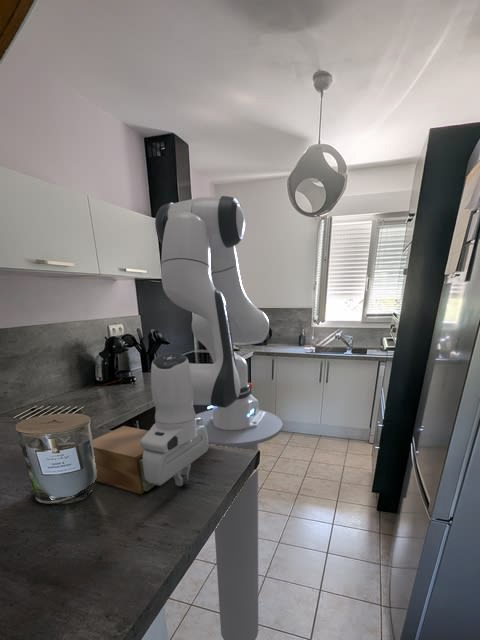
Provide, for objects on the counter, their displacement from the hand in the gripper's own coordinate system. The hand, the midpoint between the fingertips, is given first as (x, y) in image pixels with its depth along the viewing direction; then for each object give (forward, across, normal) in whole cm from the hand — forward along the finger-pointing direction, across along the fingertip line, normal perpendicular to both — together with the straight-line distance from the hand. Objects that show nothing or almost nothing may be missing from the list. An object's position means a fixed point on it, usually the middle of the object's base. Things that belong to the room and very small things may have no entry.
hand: (182, 483), depth 85 cm
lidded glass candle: (+1, +14, -25) cm, 29 cm away
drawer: (0, 0, -11) cm, 11 cm away
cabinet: (+1, 0, -15) cm, 15 cm away
